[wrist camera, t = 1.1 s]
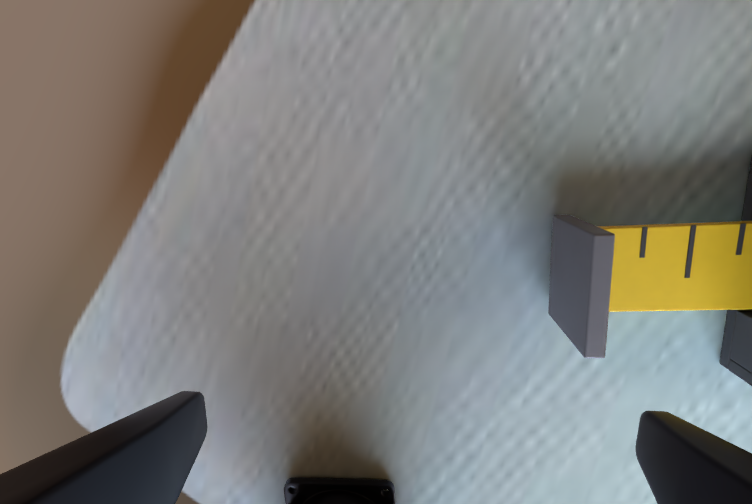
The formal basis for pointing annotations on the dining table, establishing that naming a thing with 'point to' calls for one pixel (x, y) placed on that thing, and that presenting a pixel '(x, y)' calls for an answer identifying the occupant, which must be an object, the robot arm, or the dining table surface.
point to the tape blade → (644, 272)
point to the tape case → (739, 321)
